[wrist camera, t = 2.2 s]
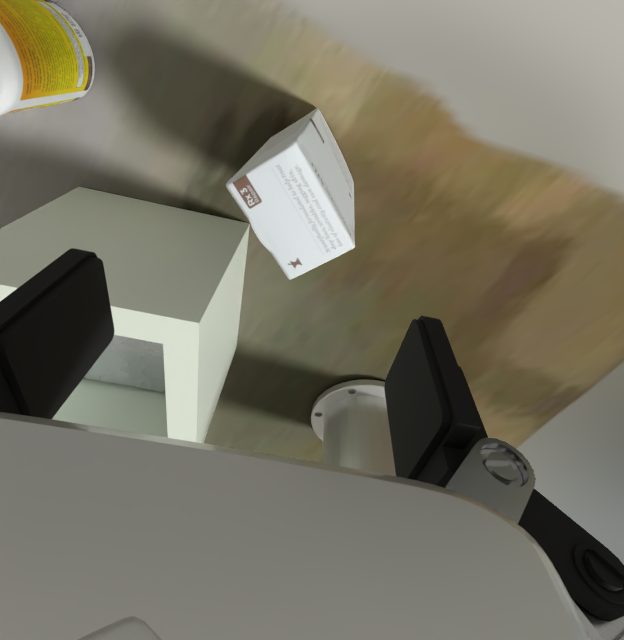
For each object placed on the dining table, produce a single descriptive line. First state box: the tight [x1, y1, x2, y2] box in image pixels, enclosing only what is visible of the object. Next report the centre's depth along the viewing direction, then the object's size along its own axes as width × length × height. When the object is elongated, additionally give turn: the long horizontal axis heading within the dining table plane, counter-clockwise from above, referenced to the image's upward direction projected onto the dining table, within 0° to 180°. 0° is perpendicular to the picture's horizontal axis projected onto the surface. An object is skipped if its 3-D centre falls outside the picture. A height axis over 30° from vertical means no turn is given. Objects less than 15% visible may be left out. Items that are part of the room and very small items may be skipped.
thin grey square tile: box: [84, 335, 165, 392], centre depth 27 cm, size 9×9×1 cm
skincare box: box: [226, 108, 355, 280], centre depth 23 cm, size 6×4×12 cm
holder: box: [0, 187, 250, 443], centre depth 29 cm, size 14×14×14 cm
